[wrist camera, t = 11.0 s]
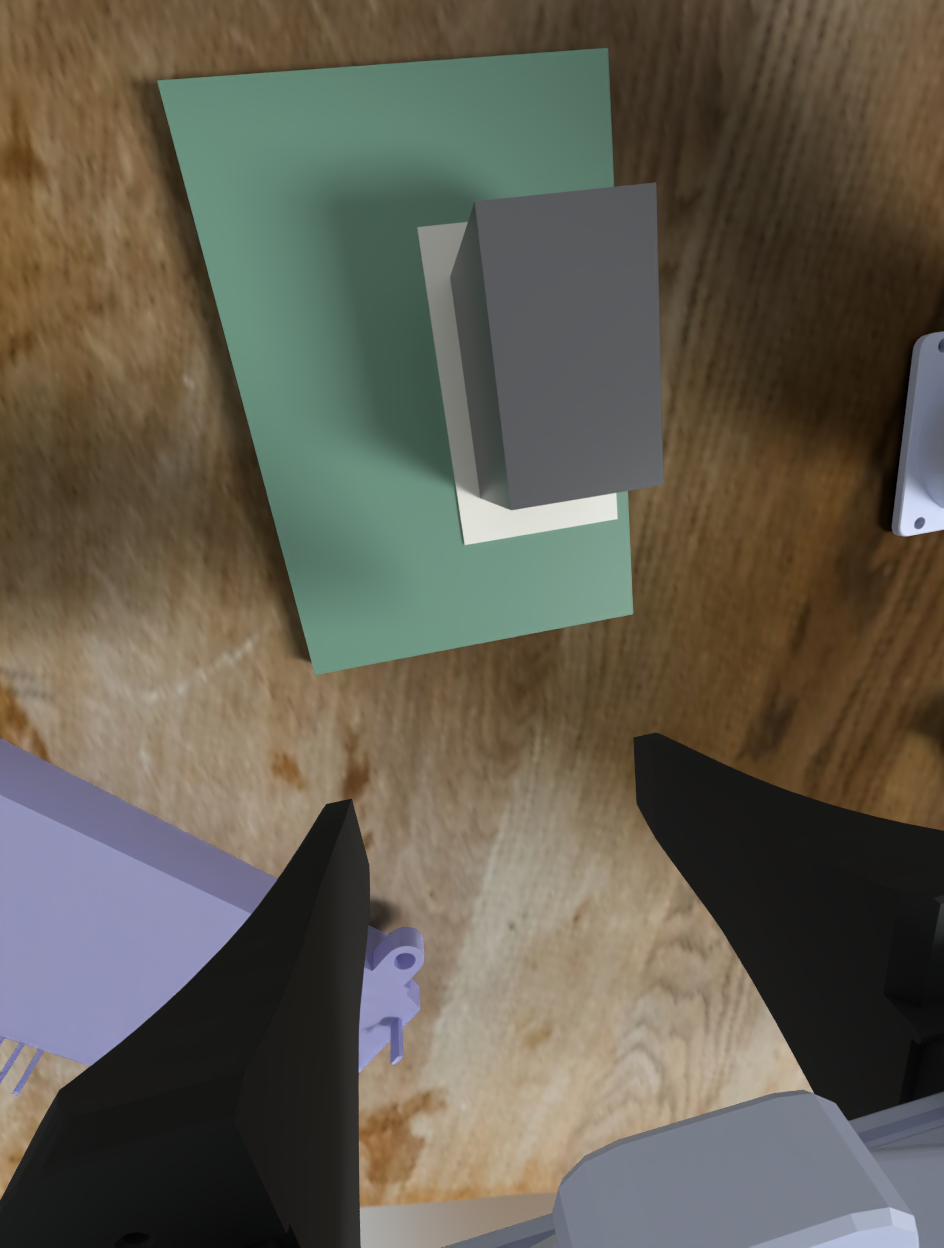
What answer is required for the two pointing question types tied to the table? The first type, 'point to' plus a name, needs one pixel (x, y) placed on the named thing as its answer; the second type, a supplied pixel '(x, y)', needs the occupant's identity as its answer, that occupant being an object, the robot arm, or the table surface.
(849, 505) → the table surface
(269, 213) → the header board
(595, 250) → the block
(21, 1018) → the computer part
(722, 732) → the table surface
